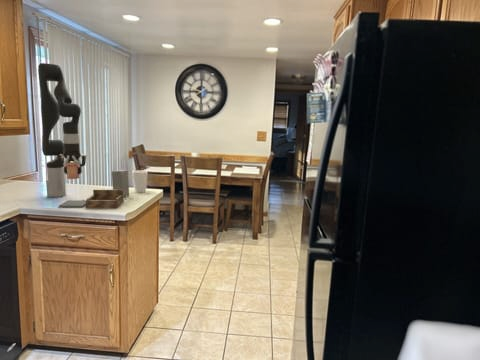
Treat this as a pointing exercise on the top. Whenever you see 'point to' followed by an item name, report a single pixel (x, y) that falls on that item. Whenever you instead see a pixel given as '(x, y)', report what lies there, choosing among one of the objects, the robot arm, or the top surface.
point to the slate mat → (73, 204)
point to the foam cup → (140, 180)
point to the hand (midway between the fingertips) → (73, 173)
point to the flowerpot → (72, 170)
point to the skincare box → (120, 181)
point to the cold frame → (105, 199)
